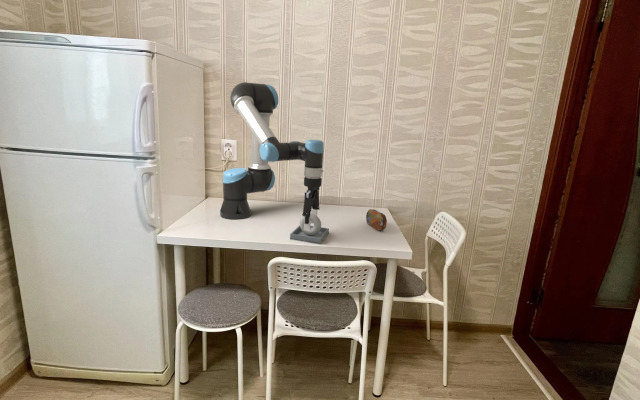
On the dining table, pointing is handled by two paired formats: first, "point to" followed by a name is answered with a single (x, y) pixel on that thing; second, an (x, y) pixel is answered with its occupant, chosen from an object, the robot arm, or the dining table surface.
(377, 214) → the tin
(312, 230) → the donut
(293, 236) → the tray
